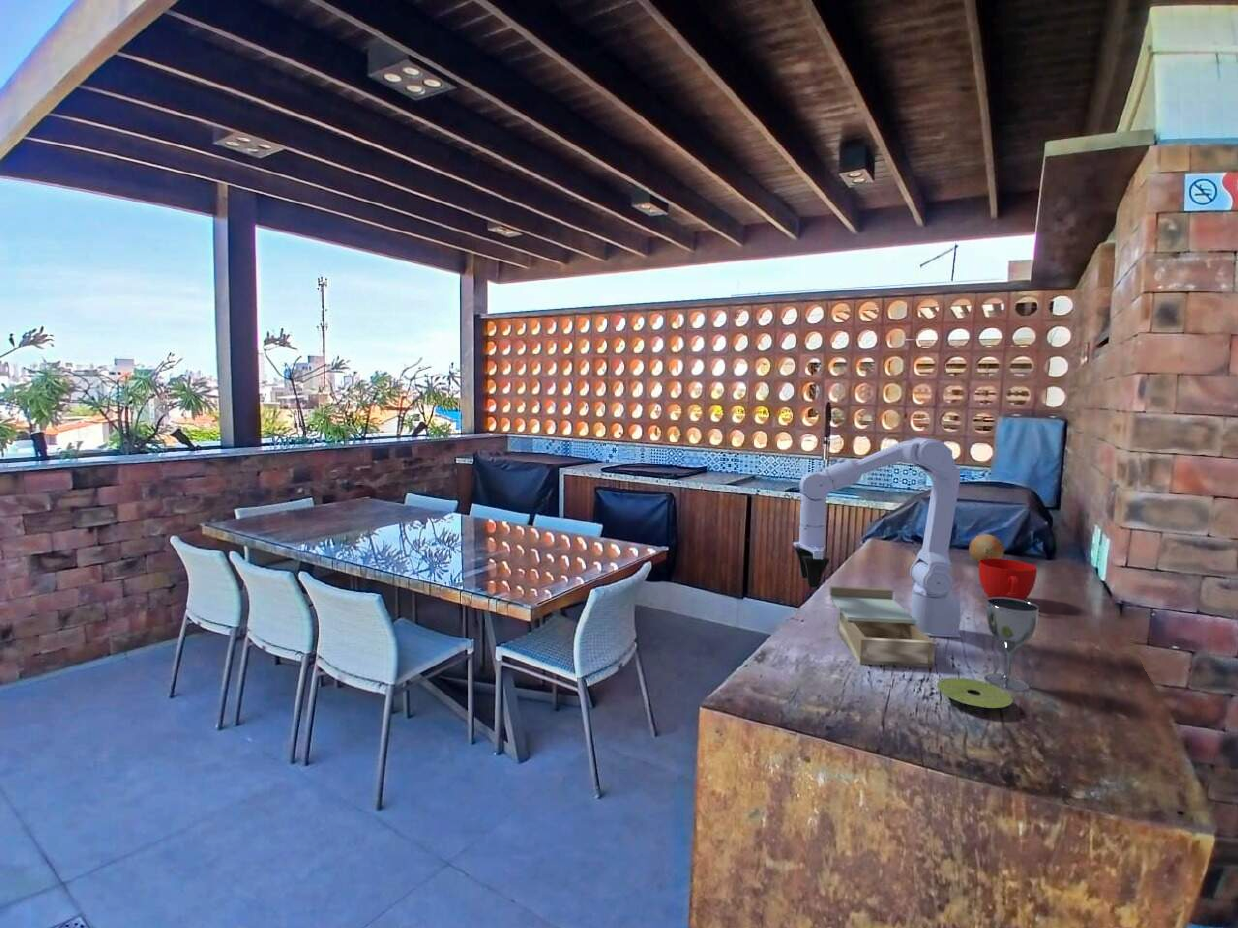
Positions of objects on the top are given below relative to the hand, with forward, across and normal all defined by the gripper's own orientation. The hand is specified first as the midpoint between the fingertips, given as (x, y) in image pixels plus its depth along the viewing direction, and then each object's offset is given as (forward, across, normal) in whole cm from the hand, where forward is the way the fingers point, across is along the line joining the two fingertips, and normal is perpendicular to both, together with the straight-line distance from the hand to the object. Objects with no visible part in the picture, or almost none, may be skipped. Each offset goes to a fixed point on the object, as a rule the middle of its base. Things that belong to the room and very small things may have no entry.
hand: (810, 582), depth 143 cm
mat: (+10, +36, +20) cm, 43 cm away
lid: (+5, +4, +12) cm, 14 cm away
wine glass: (+10, +27, +30) cm, 42 cm away
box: (+10, +14, +12) cm, 21 cm away
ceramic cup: (+10, -22, +56) cm, 61 cm away
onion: (+10, -66, +71) cm, 97 cm away
